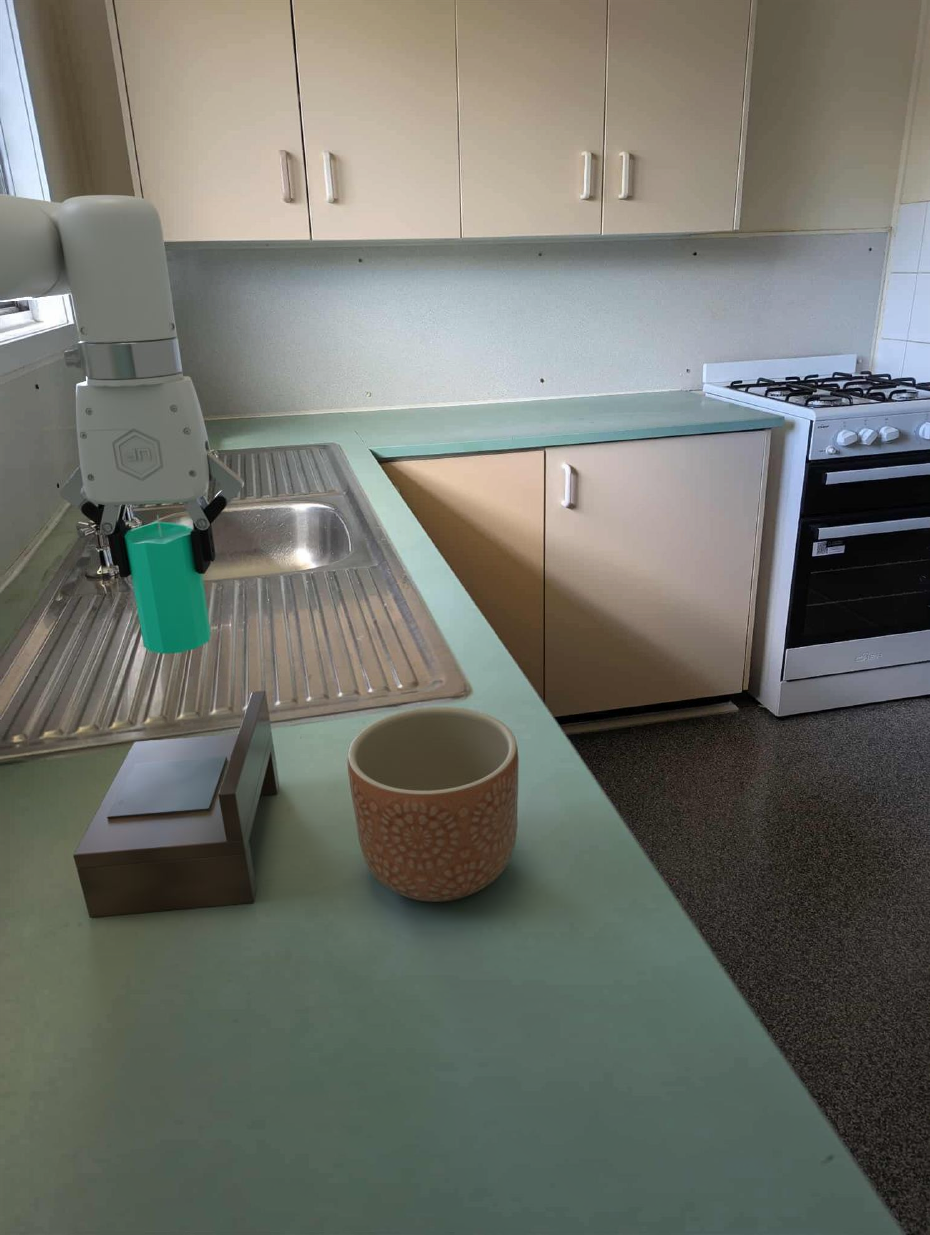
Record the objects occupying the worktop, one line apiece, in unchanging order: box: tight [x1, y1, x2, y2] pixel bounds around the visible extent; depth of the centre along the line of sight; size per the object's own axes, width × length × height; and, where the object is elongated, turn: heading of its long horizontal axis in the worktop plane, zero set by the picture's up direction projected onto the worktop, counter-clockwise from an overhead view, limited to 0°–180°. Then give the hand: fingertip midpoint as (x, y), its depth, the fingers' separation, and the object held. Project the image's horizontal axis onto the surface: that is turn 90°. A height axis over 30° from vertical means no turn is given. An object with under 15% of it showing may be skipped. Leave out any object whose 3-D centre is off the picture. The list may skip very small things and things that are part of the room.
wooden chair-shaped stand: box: [72, 690, 280, 918], centre depth 70 cm, size 12×16×10 cm
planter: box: [347, 706, 520, 903], centre depth 65 cm, size 12×12×11 cm
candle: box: [124, 514, 212, 655], centre depth 79 cm, size 6×6×12 cm
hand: (166, 569), depth 78 cm, fingers closed on candle, 5 cm apart
